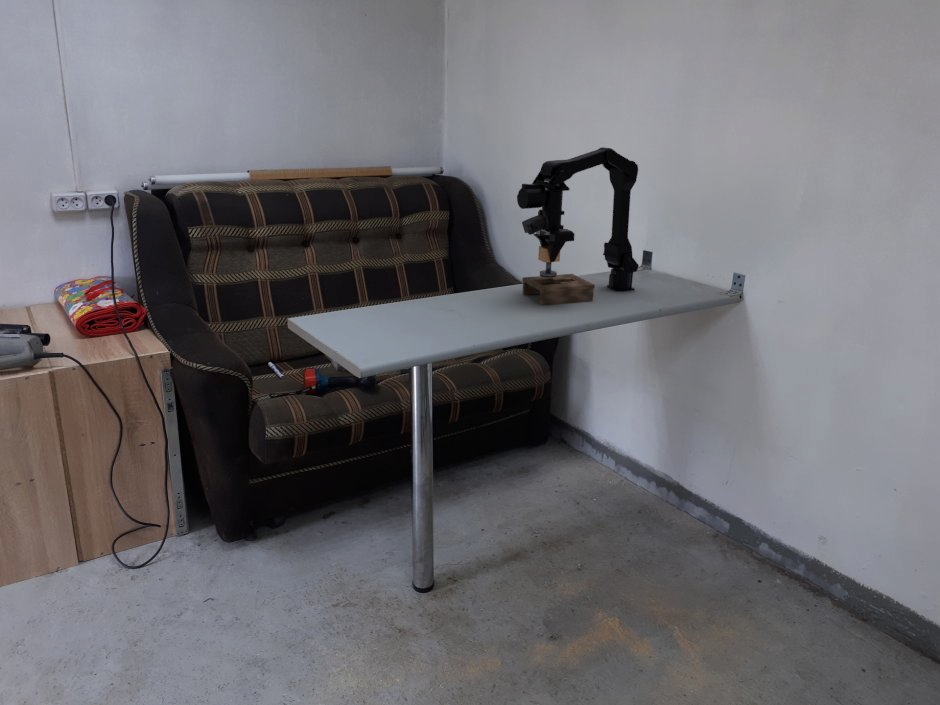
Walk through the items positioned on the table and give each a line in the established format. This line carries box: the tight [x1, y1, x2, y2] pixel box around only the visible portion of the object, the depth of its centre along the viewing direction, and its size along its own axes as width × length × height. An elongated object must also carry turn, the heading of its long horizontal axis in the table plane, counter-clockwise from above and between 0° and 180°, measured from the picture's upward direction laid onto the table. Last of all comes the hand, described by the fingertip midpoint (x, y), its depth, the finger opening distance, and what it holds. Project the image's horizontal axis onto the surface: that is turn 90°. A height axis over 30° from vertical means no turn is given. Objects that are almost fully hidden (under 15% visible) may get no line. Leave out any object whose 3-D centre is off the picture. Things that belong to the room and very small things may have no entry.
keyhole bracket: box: [521, 273, 596, 306], centre depth 215 cm, size 17×14×5 cm
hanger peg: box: [537, 245, 561, 277], centre depth 211 cm, size 5×5×8 cm
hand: (549, 260), depth 211 cm, fingers closed on hanger peg, 4 cm apart
